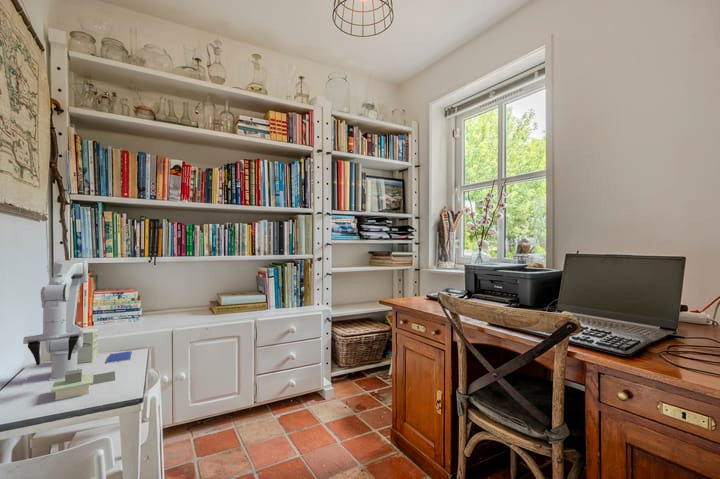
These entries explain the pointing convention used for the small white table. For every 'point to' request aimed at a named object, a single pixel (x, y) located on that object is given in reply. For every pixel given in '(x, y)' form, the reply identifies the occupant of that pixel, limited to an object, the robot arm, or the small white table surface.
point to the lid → (72, 380)
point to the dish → (72, 392)
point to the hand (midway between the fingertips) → (54, 361)
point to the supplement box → (88, 346)
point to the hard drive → (119, 357)
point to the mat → (103, 377)
